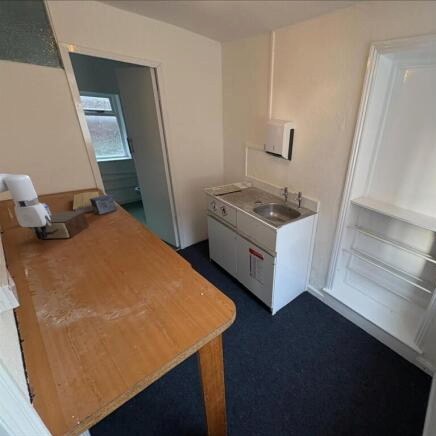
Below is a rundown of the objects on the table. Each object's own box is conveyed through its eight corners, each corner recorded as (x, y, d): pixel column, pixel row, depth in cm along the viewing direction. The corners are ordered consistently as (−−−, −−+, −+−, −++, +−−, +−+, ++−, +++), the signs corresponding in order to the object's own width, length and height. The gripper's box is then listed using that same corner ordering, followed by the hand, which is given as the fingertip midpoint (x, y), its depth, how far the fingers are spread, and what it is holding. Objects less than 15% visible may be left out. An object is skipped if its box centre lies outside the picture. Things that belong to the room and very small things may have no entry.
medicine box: (39, 218, 142) (34, 204, 138) (49, 215, 145) (44, 202, 142) (43, 221, 138) (37, 207, 134) (53, 219, 141) (48, 205, 138)
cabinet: (71, 238, 122) (65, 221, 118) (43, 239, 120) (36, 222, 116) (89, 226, 135) (84, 210, 131) (64, 226, 133) (58, 211, 129)
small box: (111, 208, 160) (107, 194, 156) (117, 210, 158) (113, 195, 154) (93, 213, 152) (89, 198, 147) (99, 215, 149) (94, 200, 145)
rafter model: (102, 209, 158) (100, 201, 155) (74, 214, 149) (71, 205, 147) (99, 196, 182) (97, 188, 180) (75, 199, 173) (72, 191, 171)
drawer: (61, 242, 116) (55, 228, 113) (34, 243, 114) (28, 228, 111) (84, 226, 132) (80, 213, 129) (62, 227, 130) (57, 214, 127)
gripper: (0, 205, 100) (18, 242, 108) (39, 205, 102) (54, 241, 110) (16, 199, 107) (32, 234, 115) (52, 199, 109) (66, 234, 117)
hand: (43, 237), depth 112 cm, fingers closed
